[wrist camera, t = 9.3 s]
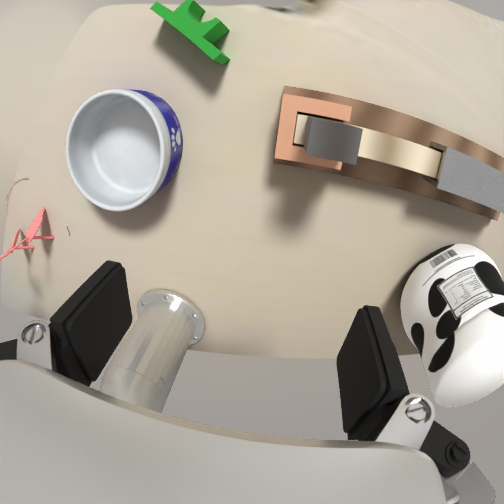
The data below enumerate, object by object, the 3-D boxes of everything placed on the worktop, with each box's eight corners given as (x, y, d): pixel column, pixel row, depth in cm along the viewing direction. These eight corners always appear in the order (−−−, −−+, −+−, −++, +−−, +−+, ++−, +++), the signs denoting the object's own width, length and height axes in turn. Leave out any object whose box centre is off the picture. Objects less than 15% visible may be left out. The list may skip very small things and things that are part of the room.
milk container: (444, 333, 41) (475, 412, 25) (374, 311, 40) (397, 409, 25) (498, 257, 32) (555, 328, 16) (433, 216, 32) (504, 297, 16)
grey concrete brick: (507, 175, 25) (524, 184, 21) (498, 206, 27) (514, 218, 23) (431, 140, 26) (447, 146, 22) (422, 178, 28) (437, 188, 25)
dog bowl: (201, 177, 34) (184, 191, 29) (114, 209, 38) (91, 225, 33) (163, 70, 28) (139, 65, 23) (79, 120, 32) (52, 126, 27)
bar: (454, 157, 26) (498, 179, 17) (448, 179, 27) (490, 207, 19) (297, 113, 27) (298, 115, 19) (293, 139, 29) (293, 152, 20)
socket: (346, 106, 26) (352, 106, 23) (336, 164, 29) (340, 170, 27) (284, 95, 27) (283, 93, 24) (276, 153, 30) (274, 158, 27)
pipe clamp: (247, 45, 26) (240, 37, 22) (223, 66, 27) (213, 60, 23) (186, -3, 22) (172, -14, 18) (165, 17, 24) (149, 8, 20)
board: (507, 161, 25) (513, 164, 24) (492, 216, 29) (497, 220, 28) (284, 86, 27) (284, 85, 26) (275, 160, 32) (274, 162, 31)
